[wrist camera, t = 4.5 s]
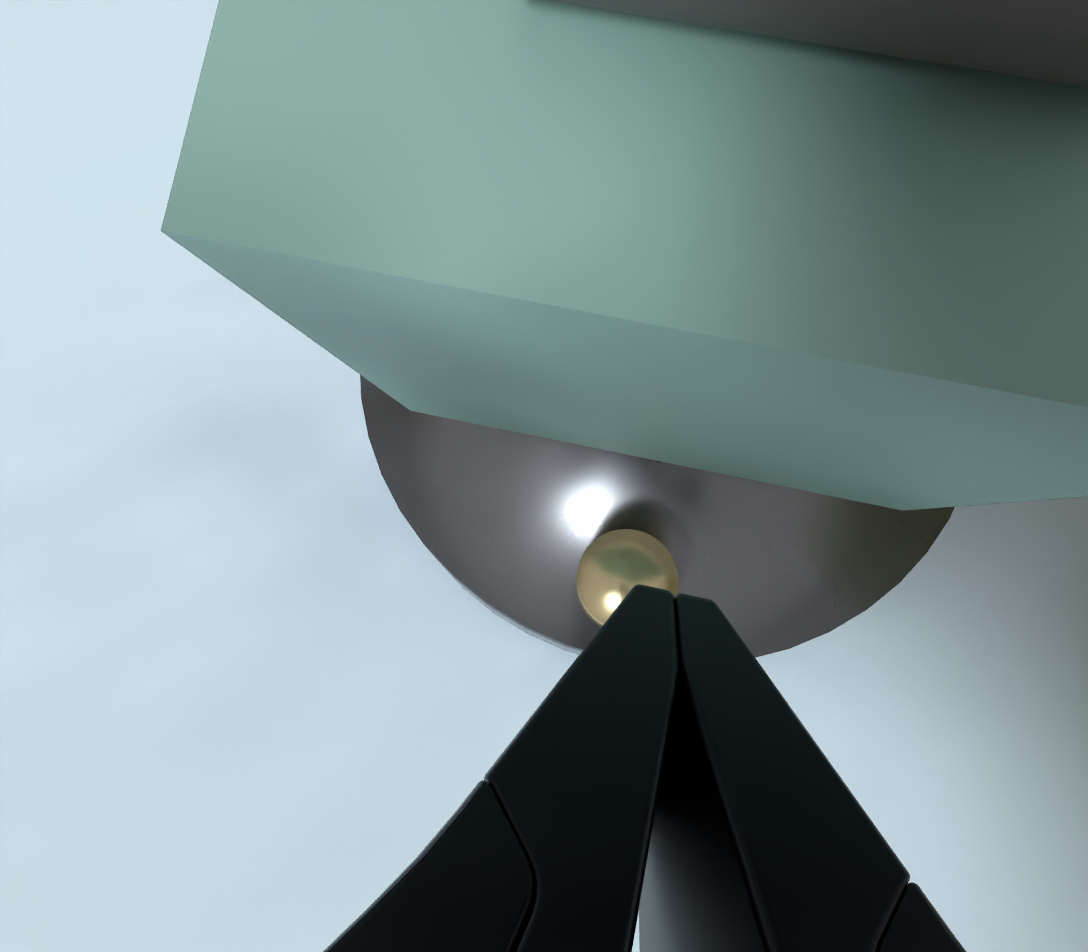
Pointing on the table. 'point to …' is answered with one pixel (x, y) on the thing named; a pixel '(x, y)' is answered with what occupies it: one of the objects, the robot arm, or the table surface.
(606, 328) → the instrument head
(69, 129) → the table surface
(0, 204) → the table surface
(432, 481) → the dark grey disc
